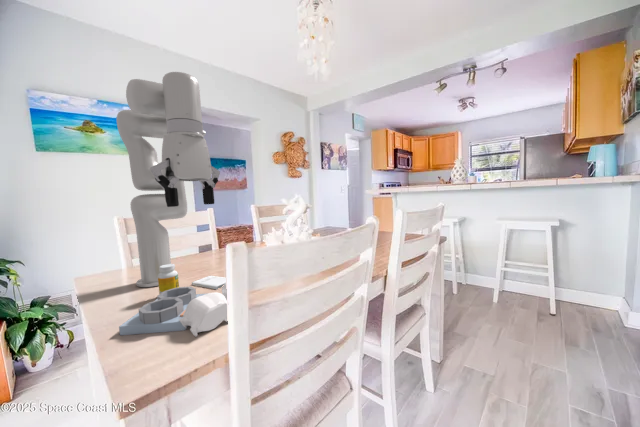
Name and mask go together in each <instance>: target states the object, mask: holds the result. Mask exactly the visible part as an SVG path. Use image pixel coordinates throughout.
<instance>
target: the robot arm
mask: <svg viewBox="0 0 640 427" xmlns="http://www.w3.org/2000/svg"><path fill="white" fill-rule="evenodd" d="M200 91H201V89H200V84H199V81H198V79H196V78H195V77H194V76H193V75H191V74H189V73H186V72H182V71H181V72H180V71H170V72H167V73H166V74H164V76H163V77H162V83H160V82H156V81H151V80H146V79H140V78H134V79H130V80H129V81H128V83H127V86H126V90H125V98H126V102H127V105H128V107H129V109H123V110H120V111H118V113H117V115H116V126H117V131H118V133H119V136H120V139H121V141H122V142H123V145H124V146H125V148H126V150H127V153H128V159H129V166H130V174H131V180H132V184H133V187H134V188H135V189H136V190H138V191H145V192H157V191H158V192H159V191H164V193H147V194H145V193H144V194H139V195H136V196H134V197H133V198H132V199H131V201H130V211H131V214H132V218H133V222H134V226H135V232H136V240H137V251H138V259H139V269H140V270H139V271H140V279H138V280H136V287H139V288H152V287H159V284H158V275H159V273H161V272H160V266H162V265H166V264H172V260H171V249H170V239H169V232H168V230H167V228H166V227H165V226H164V225H162V224H161V223H160V221H166V220H177V219H183V218H185V216H186V215H187V213H188V201H187V194H186V188H185V187H186V186H185V182H198V181H199V182H200V184H201V185H202V186H203V188H202V199H203V200H202V201H203V205H214V204H215V192H214V189H215V188H216V185H217V184H218V182H219V177H220V175H221V172H220V170H218V169H217V168H215V167H214V166H212V164H211V156H210V152H209V151H210V150H209V147H208V144H207V141H206V138H205V136H206V135H207V134H206V132H207V131H206V130H204V126H203V116H202V115H203V114H202V103H201V94H200ZM144 137H146V138H154V139H162V146H161V162H159V159H158V153H157V150H156V148H154V146H153V145H152V144H151V143H150V142H149V141H148V140H146V139H145V138H144Z"/></svg>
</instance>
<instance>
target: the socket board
mask: <svg viewBox="0 0 640 427" xmlns="http://www.w3.org/2000/svg"><path fill="white" fill-rule="evenodd" d="M209 293H210V292H208V293H197V290H196V288H194V287H192V286H179V287H178V288H173V289H170V290H166V291H164V292H162V293H161V294H159V293H158V295H157V296H156V297H157V298H156V299H155V300H153V301H150V302H146V303H145V304H144V305H143V306H141V307H140V308H138V312H137V313H136V314H134V315H133V316H132V317H131V318H129V319H128V320H126V321H125V322H123V323H122V324H121V325H119V326H118V329H119V336H128V335H142V334H152V333H153V334H154V333H155V334H156V333H167V332H179V331H186V330H187V329H188V327H189V326H187V327H186V328H185V327H184V326H183V325H182V323H181V322H180V321H179V319H181V318H183V314H184V312H185V310H186V308H187V306H188V304H189V302H190V301H191V300H193V299H194V298H197V297H200V296H203V295H205V294H209Z"/></svg>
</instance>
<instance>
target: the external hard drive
mask: <svg viewBox="0 0 640 427" xmlns="http://www.w3.org/2000/svg"><path fill="white" fill-rule="evenodd" d="M226 278H227V277H224V276H223V277H222V276H217V275H215V276H214V275H208V276H205V277H202V278H200V279H198V280H194V281H192V282H191V286H196V287H200V288H201V287H203V288H206V289H207V288H208V289H213V290H219V289H218V288H220V287H222V286H223V285H224V284H225V283H226ZM220 289H221V288H220Z"/></svg>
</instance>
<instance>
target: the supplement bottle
mask: <svg viewBox="0 0 640 427" xmlns="http://www.w3.org/2000/svg"><path fill="white" fill-rule="evenodd" d="M160 272H161V273H159V275H158V284H159V286H158V292H159V293H158V295H159V294H161V293H162V292H164V291H166V290H170V289H173V288H178V287H180V283H179V282H180V281H179V273H178V271H177V270H176V265H175V263H171V264H166V265H162V266H160Z"/></svg>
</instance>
